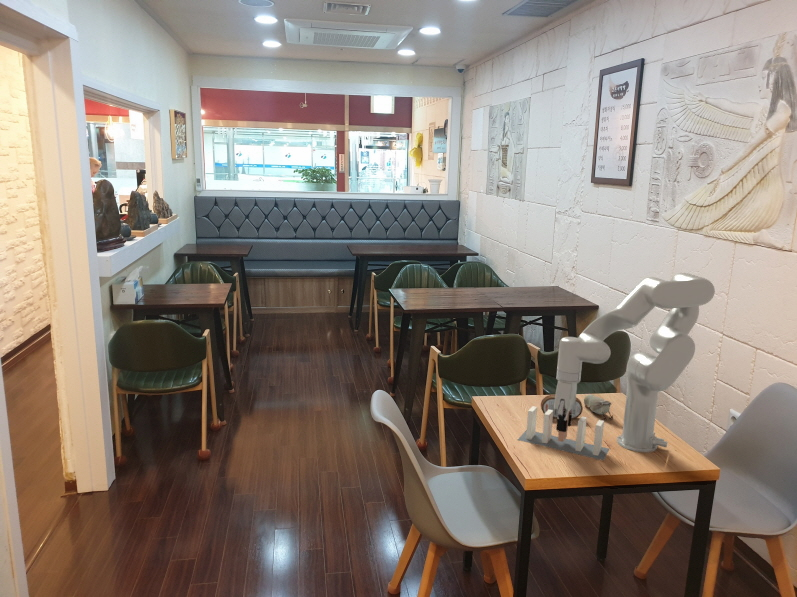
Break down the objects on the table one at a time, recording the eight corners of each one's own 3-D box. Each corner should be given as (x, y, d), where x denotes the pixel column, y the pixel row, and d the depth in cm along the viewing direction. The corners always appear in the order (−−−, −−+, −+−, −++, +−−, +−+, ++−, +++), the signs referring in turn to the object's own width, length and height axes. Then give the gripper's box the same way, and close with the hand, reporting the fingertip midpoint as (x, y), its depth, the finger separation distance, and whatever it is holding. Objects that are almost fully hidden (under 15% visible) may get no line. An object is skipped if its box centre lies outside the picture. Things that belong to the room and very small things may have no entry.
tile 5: (601, 449, 195) (604, 420, 193) (597, 455, 191) (600, 426, 189) (596, 448, 196) (598, 419, 194) (592, 454, 191) (595, 425, 190)
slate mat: (609, 449, 196) (609, 448, 196) (603, 461, 188) (603, 460, 188) (526, 430, 210) (526, 429, 210) (517, 440, 201) (517, 439, 201)
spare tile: (557, 440, 196) (560, 412, 195) (562, 435, 201) (564, 407, 199) (562, 442, 196) (565, 413, 194) (566, 436, 200) (569, 408, 198)
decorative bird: (591, 405, 236) (593, 387, 234) (615, 421, 221) (617, 402, 219) (579, 406, 234) (580, 388, 233) (602, 422, 219) (604, 403, 218)
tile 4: (584, 445, 198) (586, 417, 196) (580, 451, 193) (583, 422, 191) (579, 444, 198) (581, 416, 197) (575, 450, 194) (578, 421, 192)
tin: (580, 417, 223) (582, 395, 222) (582, 420, 220) (584, 398, 219) (539, 414, 225) (541, 393, 223) (540, 418, 222) (542, 396, 220)
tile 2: (551, 438, 203) (553, 410, 201) (546, 443, 199) (549, 415, 197) (546, 437, 204) (548, 409, 202) (542, 442, 199) (544, 414, 198)
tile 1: (535, 434, 206) (537, 407, 204) (530, 439, 201) (532, 411, 199) (530, 433, 206) (532, 406, 204) (526, 438, 202) (528, 410, 200)
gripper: (563, 366, 203) (559, 417, 207) (549, 380, 189) (544, 434, 192) (586, 370, 199) (581, 422, 203) (573, 384, 185) (568, 439, 188)
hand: (563, 427), depth 197 cm, fingers closed on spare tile, 4 cm apart
